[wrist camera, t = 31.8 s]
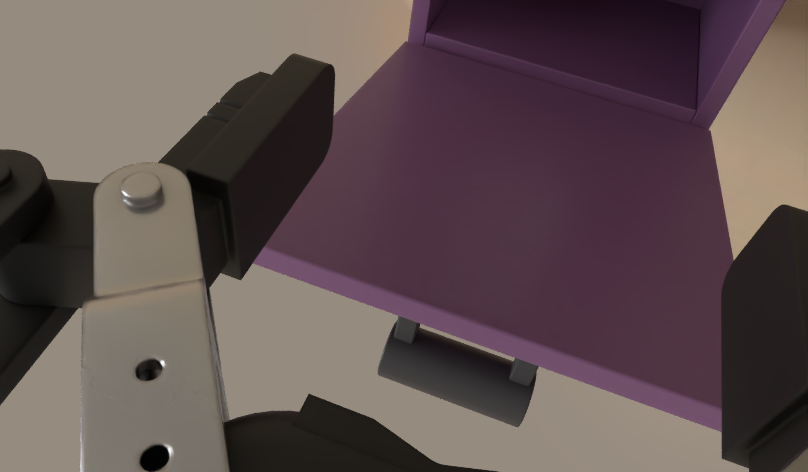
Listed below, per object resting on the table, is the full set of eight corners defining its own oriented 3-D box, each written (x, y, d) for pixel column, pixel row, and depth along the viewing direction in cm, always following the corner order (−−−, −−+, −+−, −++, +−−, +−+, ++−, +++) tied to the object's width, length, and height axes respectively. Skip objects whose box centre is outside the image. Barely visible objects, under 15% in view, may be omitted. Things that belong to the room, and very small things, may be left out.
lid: (219, 231, 18) (220, 359, 21) (764, 425, 16) (669, 532, 19) (405, 40, 32) (388, 136, 35) (711, 130, 29) (660, 223, 33)
